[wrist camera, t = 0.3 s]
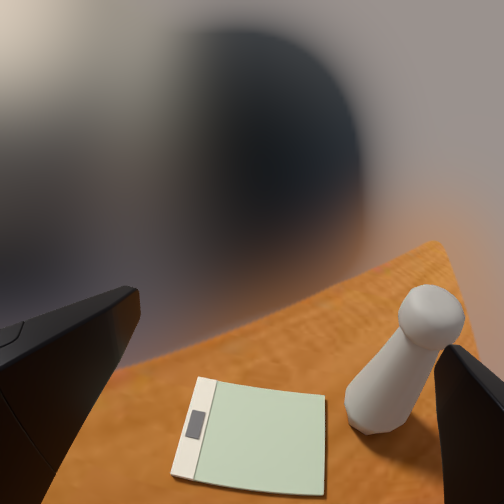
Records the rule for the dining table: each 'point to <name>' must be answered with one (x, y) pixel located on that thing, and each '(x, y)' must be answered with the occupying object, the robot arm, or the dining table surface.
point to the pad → (253, 439)
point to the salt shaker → (404, 361)
